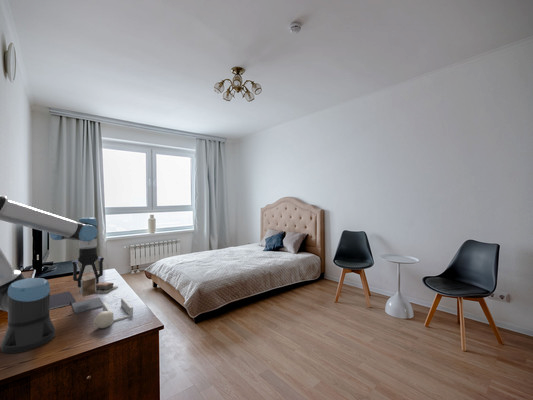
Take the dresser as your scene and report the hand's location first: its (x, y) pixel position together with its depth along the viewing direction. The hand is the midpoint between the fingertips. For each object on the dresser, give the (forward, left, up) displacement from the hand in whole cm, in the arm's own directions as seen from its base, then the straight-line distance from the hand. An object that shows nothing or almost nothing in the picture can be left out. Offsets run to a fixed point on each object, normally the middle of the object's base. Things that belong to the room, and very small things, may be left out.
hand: (88, 291), depth 128 cm
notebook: (-11, +18, -8) cm, 23 cm away
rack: (+9, -20, -7) cm, 23 cm away
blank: (0, +2, -1) cm, 2 cm away
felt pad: (0, 0, -7) cm, 7 cm away
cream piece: (+1, -31, -8) cm, 32 cm away
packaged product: (+9, +23, -8) cm, 26 cm away
